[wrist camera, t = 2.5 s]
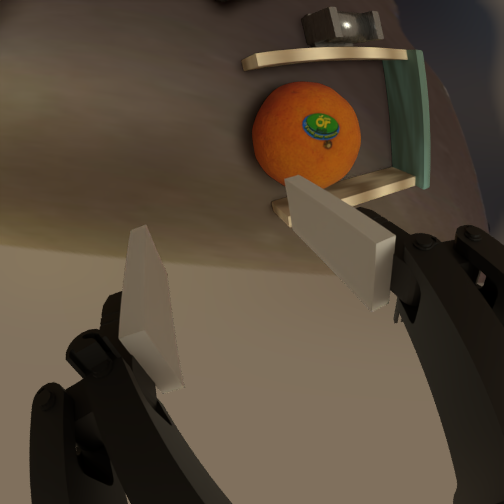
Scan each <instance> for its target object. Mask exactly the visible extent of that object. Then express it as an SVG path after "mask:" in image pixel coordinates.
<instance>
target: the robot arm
mask: <svg viewBox="0 0 504 504" xmlns="http://www.w3.org/2000/svg"><path fill="white" fill-rule="evenodd" d="M284 181H285V186H286V192H287V198H288V204H289V210H290V216H291V223H292V229H293V231H294V232H295V233H296V234H297V235H298V236H299V237H300V238H301V239H302V240H303V241H304V242H305V243H306V244H307V245H308V246H309V247H310V248H311V249H312V250H313V251H314V252H315V253H316V254H317V255H318V256H319V257H320V258H321V259H322V260H323V261H324V262H325V264H326V265H327V266H328V267H329V268H330V269H331V270H332V271H333V272H334V273H335V274H336V275H337V276H338V277H339V278H340V279H341V280H342V281H343V282H344V283H345V284H346V285H347V287H348V288H349V289H350V290H351V291H352V292H353V293H354V294H355V295H356V296H357V297H358V298H359V299H360V300H361V302H363V304H364V305H365V306H366V307H367V308H368V309H369V310H370V311H371V312H373V311H375V310H377V309H379V308H381V307H383V306H385V305H386V304H388V303H389V297H390V290H391V291H392V292H393V293H394V294H395V295H396V296H397V302H396V309H395V314H394V323H397V322H398V317H399V313H400V316H401V318H402V319H401V322H404V324H405V327H406V329H407V331H408V333H409V336H410V338H411V341H412V343H413V345H414V348H415V350H416V353H417V355H418V357H419V360H420V363H421V365H422V368H423V370H424V373H425V376H426V378H427V381H428V384H429V387H430V389H431V392H432V395H433V398H434V401H435V404H436V407H437V410H438V413H439V416H440V419H441V422H442V426H443V429H444V432H445V436H446V439H447V442H448V446H449V450H450V454H451V458H452V461H453V465H454V470H455V474H456V479H457V489H456V492H455V494H454V499H453V504H504V245H502V244H501V243H500V242H499V241H497V240H496V239H495V238H493V237H492V236H490V235H489V234H488V233H486V232H485V231H483V230H482V229H480V228H478V227H475V226H473V225H464V226H460V227H459V228H457V231H456V235H455V240H451V241H445V242H441V241H440V240H438V239H437V238H436V237H434V236H432V235H429V234H424V233H415V234H412V235H410V234H408V233H407V232H405V231H404V230H402V229H401V228H399V227H398V226H396V225H395V224H393V223H392V222H390V221H388V220H387V219H385V218H384V217H381V215H379V214H377V213H376V212H374V211H372V210H370V209H366V208H363V207H358V208H354V207H352V206H350V205H349V204H347V203H346V202H344V201H342V200H341V199H339V198H337V197H336V196H334V195H333V194H331V193H329V192H328V191H326V190H324V189H323V188H321V187H319V186H317V185H316V184H314V183H312V182H311V181H309V180H307V179H305V178H304V177H302V176H300V175H296V176H293V177H289V178H286V179H284ZM481 271H482V272H483V273H484V274H485V275H486V279H485V282H484V285H483V286H480V285H478V284H477V283H478V279H479V276H480V273H481ZM100 324H101V326H100V330H98V329H91V330H87V331H85V332H83V333H81V334H80V335H78V336H77V337H76V338H75V339H74V340H73V341H72V342H71V343H70V345H69V347H68V349H67V352H66V360H67V361H68V363H69V364H70V365H71V366H72V367H73V368H74V369H75V370H76V371H77V372H78V373H79V375H81V377H82V378H83V379H82V380H81V381H79V382H78V383H76V384H74V385H73V386H71V387H69V388H67V389H66V390H65V389H64V388H63V387H62V386H61V385H60V384H57V383H54V382H53V383H48V384H46V385H44V386H42V387H41V388H40V389H39V391H38V392H37V394H36V395H35V397H34V400H33V404H32V412H31V427H30V487H31V499H32V504H128V503H127V498H126V495H127V497H128V499H129V501H130V503H131V504H232V503H231V502H230V500H229V499H228V498H227V497H226V495H225V494H224V493H223V492H222V491H221V489H220V488H219V487H218V486H217V484H216V483H215V482H214V481H213V479H212V478H211V476H210V475H209V474H208V472H207V471H206V470H205V468H204V467H203V466H202V464H201V463H200V461H199V460H198V459H197V457H196V456H195V455H194V453H193V451H192V450H191V448H190V447H189V445H188V444H187V442H186V441H185V439H184V438H183V436H182V435H181V433H180V432H179V430H178V429H177V427H176V425H175V424H174V422H173V421H172V419H171V417H170V416H169V414H168V412H167V411H166V409H165V407H164V406H163V404H162V403H161V402H160V401H159V400H158V399H157V397H156V389H155V386H156V387H157V388H158V389H159V390H160V391H161V393H163V394H164V393H167V392H171V391H174V390H178V389H181V388H184V382H183V376H182V371H181V365H180V360H179V354H178V349H177V342H176V335H175V329H174V322H173V315H172V308H171V300H170V292H169V283H168V274H167V272H166V270H165V268H164V265H163V263H162V261H161V258H160V256H159V254H158V251H157V249H156V247H155V244H154V242H153V240H152V237H151V235H150V232H149V230H148V227H147V225H143V226H141V227H138V228H135V229H133V230H131V231H130V237H129V243H128V250H127V257H126V265H125V272H124V280H123V289H122V291H121V292H118V293H115V294H113V295H110V296H109V297H108V299H107V300H106V302H105V304H104V305H103V309H102V318H101V323H100ZM125 493H126V494H125Z"/></svg>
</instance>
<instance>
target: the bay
mask: <svg viewBox="0 0 504 504" xmlns="http://www.w3.org/2000/svg"><path fill="white" fill-rule="evenodd" d="M339 60H382V61H383V67H384V74H385V81H386V89H387V97H388V106H389V117H390V129H391V145H392V167H390V168H386V169H382V170H379V171H375V172H371V173H368V174H364V175H360V176H357V177H353V178H350V179H346V180H342V181H339V182H336V183H334V184H332V185H330V186H328V187H326V188H324V190H326V191H328V192H329V193H331V194H333V195H334V196H336V197H337V198H339V199H341V200H342V201H344V202H346V203H347V204H349V205H350V206H354V205H357V204H360V203H363V202H366V201H369V200H372V199H375V198H378V197H381V196H384V195H387V194H391V193H394V192H397V191H400V190H403V189H406V188H409V187H412V186H418V187H420V188H422V189H426V188H429V185H430V119H429V103H428V91H427V82H426V73H425V66H424V59H423V53H422V51H421V50H401V49H389V48H372V47H319V48H302V49H290V50H280V51H271V52H263V53H256V54H254V55H251V56H249V57H247V58H245V59H243V60H241V62H242V66H243V70H244V71H248V70H254V69H260V68H266V67H273V66H280V65H288V64H297V63H308V62H320V61H339ZM272 207H273V211H274V212H275V213H276V214H277V215H278V216H279V217H280V218H281V219H282V220H283V221H284V222H285V223H286V224H287V225H288V226H289V227H292V223H291V216H290V210H289V204H288V198H287V197H285V198H282V199H279V200H276V201H272Z"/></svg>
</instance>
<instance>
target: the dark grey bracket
mask: <svg viewBox="0 0 504 504" xmlns="http://www.w3.org/2000/svg"><path fill="white" fill-rule="evenodd" d="M301 20H302V24H303V29H304V33H305V37H306V42H307V45H310V44H311V46H312V48H316V47H351V46H353V44H354V43H363V42H366V41H374V40H382V39H384V37H383V33H382V28H381V23H380V19H379V15H378V12H376V11H370V12H366V13H362V14H361V13H353V12H340V11H337V9H336V7H327V8H325V9H322V10H320V11H318V12H315V13H313V14H307V15H305V17H304V18H302V19H301Z"/></svg>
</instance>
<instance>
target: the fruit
mask: <svg viewBox="0 0 504 504" xmlns="http://www.w3.org/2000/svg"><path fill="white" fill-rule="evenodd" d="M252 139H253V146H254V152H255V156H256V159H257V161H258V162H259V164H260V166H261V167H262V168H263V170H264V171H265V172H266V173H267V174H268V175H269V176H270V177H272V178H273V179H275V180H276V181H278V182H279V183H281V184H282V185H284V186H285V181H284V179H286V178H289V177H293V176H296V175H300V176H302V177H304V178H305V179H307V180H309V181H311V182H312V183H314V184H316V185H317V186H319V187H321V188H323V189H324V188H326V187H328V186H330V185H332V184H334V183H336V182H337V181H339V180H340V179H342V178H343V177H344V176H345V175H346V174H347V173H348V172H349V171H350V169H351V167H352V166H353V164H354V162H355V160H356V158H357V155H358V152H359V148H360V144H361V134H360V128H359V123H358V119H357V116H356V114H355V112H354V110H353V108H352V107H351V106H350V104H349V103H348V102H347V101H346V100H345V99H344V98H343V97H341V96H340V95H339V94H338V93H337V92H335V91H334V90H333V89H331V88H330V87H327V86H325V85H323V84H319V83H313V82H293V83H288V84H285V85H282V86H280V87H278V88H277V89H275V90H274V91H273V92H272V93H271V94H270V95H269V96H268V97H267V98H266V100H265V101H264V103H263V104H262V106H261V108H260V109H259V111H258V113H257V116H256V118H255V121H254V125H253V129H252Z"/></svg>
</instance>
